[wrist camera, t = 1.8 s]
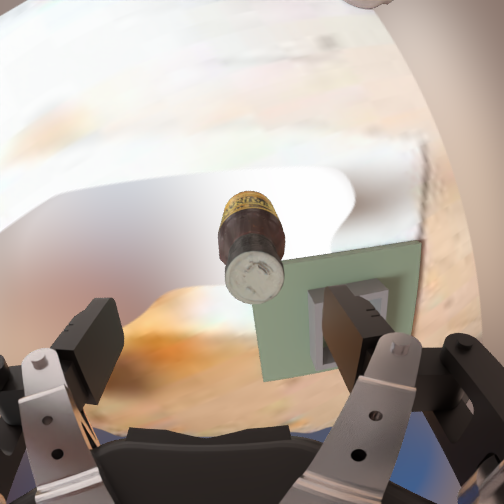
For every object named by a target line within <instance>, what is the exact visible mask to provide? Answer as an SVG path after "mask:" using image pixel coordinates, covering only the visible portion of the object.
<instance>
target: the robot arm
mask: <svg viewBox="0 0 504 504" xmlns="http://www.w3.org/2000/svg"><path fill="white" fill-rule="evenodd" d="M344 1H345V2H347V3H349V4H351V5H353V6H356V7H360V8H366V9H368V8H375V7H378V6H379V5H381V4H389V3H390V2H391V1H392V0H344ZM322 332H323V337H324V339H325V341H326V343H327V345H328V348H329V350H330V352H331V354H332V356H333V358H334V360H335V362H336V364H337V367H338V369H339V371H340V373H341V375H342V377H343V379H344V382H345V384H346V386H347V388H348V390H349V392H350V396H349V398H348V400H347V401H346V403H345V405H344V407H343V409H342V411H341V413H340V415H339V417H338V418H337V420H336V422H335V424H334V426H333V427H332V429H331V431H330V433H329V434H328V436H327V438H326V439H325V441H324V443H321V442H319V441H316V440H312V439H308V438H303V437H297V436H291V435H290V430H289V426H288V425H285V426H276V427H265V428H253V429H246V430H242V431H238V432H234V433H230V434H225V435H221V436H217V437H212V438H199V437H194V436H189V435H185V434H181V433H176V432H172V431H168V430H158V429H143V428H131V427H129V430H128V434H127V437H126V438H125V439H119V440H114V441H111V442H107V443H105V444H102V445H100V443H99V441H98V439H97V437H96V435H95V433H94V430H93V428H92V426H91V424H90V422H89V420H88V417H87V415H86V413H85V411H84V409H83V407H84V405H85V404H93V405H98V403H99V401H100V398H101V396H102V393H103V391H104V389H105V387H106V384H107V382H108V380H109V377H110V375H111V373H112V371H113V369H114V366H115V364H116V362H117V360H118V358H119V355H120V353H121V351H122V349H123V346H124V333H123V329H122V326H121V322H120V318H119V314H118V311H117V306H116V303H115V300H114V299H113V298H94V299H93V300H92V301H91V303H90V304H89V305H88V306H87V308H86V309H85V310H84V311H82V312H80V313H79V314H77V315H76V316H74V318H73V319H72V320H71V321H70V323H69V325H67V326H66V328H65V329H64V331H63V332H62V333H61V334H60V335H59V337H58V338H57V339H56V340H55V342H54V343H53V344H52V346H51V347H50V348H42V349H38V350H35V351H33V352H31V353H30V354H28V355H27V356H26V357H25V358H24V360H23V361H22V365H19V366H10V367H8V365H7V363H6V361H5V359H4V357H3V356H2V355H0V415H1V418H0V504H6V500H7V497H8V494H9V491H10V489H11V486H12V483H13V480H14V477H15V475H16V472H17V470H18V467H19V464H20V462H21V459H22V457H23V454H24V452H25V450H26V448H27V452H28V457H29V461H30V465H31V469H32V472H33V476H34V480H35V483H36V486H37V487H36V488H34V489H32V490H31V491H29V492H28V493H26V494H24V495H23V496H21V497H19V498H18V499H16V500H14V501H13V502H11V503H9V504H436V503H434V502H432V501H430V500H427V499H426V498H423V497H421V496H419V495H417V494H415V493H413V492H411V491H409V490H407V489H405V488H403V487H401V486H399V485H397V484H395V483H393V482H391V481H390V480H389V479H390V477H391V474H392V471H393V468H394V466H395V463H396V460H397V457H398V454H399V451H400V448H401V445H402V442H403V439H404V435H405V432H406V428H407V425H408V421H409V418H410V414H411V412H418V411H422V412H423V414H424V416H425V417H426V419H427V421H428V423H429V425H430V427H431V428H432V430H433V432H434V434H435V436H436V438H437V439H438V442H439V443H440V445H441V447H442V449H443V451H444V453H445V455H446V457H447V459H448V461H449V463H450V465H451V467H452V469H453V471H454V473H455V475H456V477H457V479H458V481H459V483H460V486H461V488H460V490H459V492H458V497H457V503H458V504H504V367H503V366H502V365H501V364H500V363H499V362H498V361H497V360H496V358H495V357H494V356H493V355H492V354H491V353H490V352H489V351H488V350H487V349H486V348H485V347H484V346H483V345H482V344H481V343H480V342H479V341H478V340H477V339H476V338H474V337H472V336H470V335H468V334H463V333H454V334H450V335H449V336H447V337H446V339H445V341H444V344H443V347H442V348H422V345H421V343H420V342H419V340H417V339H416V338H415V337H413V336H411V335H409V334H405V333H400V332H395V331H394V330H393V329H392V328H391V326H390V325H389V324H388V323H387V322H386V320H385V319H384V318H383V317H382V316H380V313H379V312H378V311H377V310H376V309H375V307H374V306H373V305H372V304H371V303H370V301H368V300H366V299H364V298H362V297H361V296H354V294H353V293H352V292H351V291H350V289H349V288H348V287H347V286H346V285H336V286H326V287H325V290H324V302H323V315H322ZM464 392H465V393H466V395H467V396H468V398H469V399H470V400H471V402H472V404H473V407H474V414H472V413H471V412H470V410H469V409H468V407H467V406H466V404H465V403H464V401H463V400H462V397H463V394H464Z"/></svg>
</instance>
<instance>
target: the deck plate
mask: <svg viewBox="0 0 504 504" xmlns="http://www.w3.org/2000/svg"><path fill="white" fill-rule="evenodd" d="M420 257H421V243H420V242H419V241H417V240H415V241H408V242H402V243H396V244H389V245H383V246H376V247H370V248H363V249H357V250H350V251H344V252H337V253H330V254H324V255H317V256H310V257H304V258H296V259H290V260H283V261H282V263H283V267H284V273H285V277H284V278H285V279H284V283H283V286H282V288H281V290H280V292H279V293H278V294H277V296H275V297H274V298H273V299H271V300H269V301H267V302H265V303H262V304H252V307H253V314H254V321H255V328H256V334H257V341H258V348H259V355H260V361H261V368H262V375H263V381H264V382H267V381H274V380H281V379H287V378H293V377H298V376H304V375H309V374H314V373H320V372H324V371H329V370H334V369H338V367H337V364H336V362H335V360H334V358H333V356H332V354H331V352H330V350H329V348H328V345H327V343H326V341H325V339H324V337H323V332H322V315H323V302H324V290H325V287H326V286H336V285H346V286H347V287H348V288H349V289H350V291H351V292H352V293H353V294H354V296H361V297H362V298H364V299H366V300H368V301H370V303H371V304H372V305H373V306H374V307H375V309H376V310H377V311H378V312H379V313H380V316H382V317H383V318H384V319H385V320H386V322H387V323H388V324H389V325H390V326H391V328H392V329H393V330H394V331H395V332H400V333H405V334H409V335H411V331H412V325H413V319H414V312H415V305H416V297H417V289H418V280H419V269H420Z"/></svg>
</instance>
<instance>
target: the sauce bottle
mask: <svg viewBox="0 0 504 504" xmlns="http://www.w3.org/2000/svg"><path fill="white" fill-rule="evenodd" d="M218 244H219V256H220V260H221V261H222V262H223V263H224V264H225V265H226V267H225V282H226V287H227V289H228V290H229V292H230V293H231V295H233V296H234V297H235V298H236V299H237V300H239V301H242V302H243V303H248V304H262V303H265V302H267V301H269V300H271V299H273V298H274V297H275V296H277V294H278V293H279V292H280V290H281V288H282V286H283V283H284V279H285V278H284V277H285V273H284V267H283V263H282V261H281V259H282V257H283V255H284V248H285V234H284V232H283V228H282V225H281V222H280V220H279V218H278V216H277V214H276V212H275V210H274V208H273V205H272V204H271V202H270V201H269V199H268V198H267V197H265V196H264V195H263V194H261V193H259V192H255V191H244V192H240V193H238V194H236V195H234V196H233V197H232V198H231V199H230V200H229V201H228V203H227V204H226V207H225V209H224V213H223V217H222V221H221V225H220V228H219V232H218Z"/></svg>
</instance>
